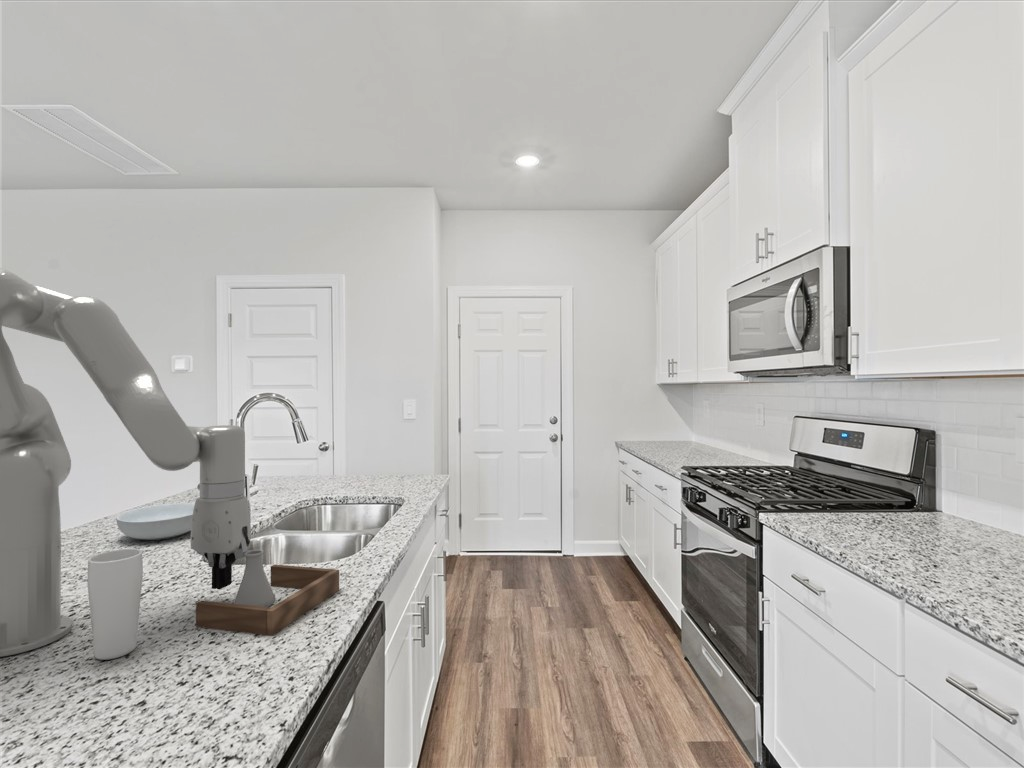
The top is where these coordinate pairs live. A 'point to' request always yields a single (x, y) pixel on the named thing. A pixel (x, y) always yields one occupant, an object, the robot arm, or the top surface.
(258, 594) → the flask
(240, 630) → the box
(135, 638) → the white tall hollow cylinder
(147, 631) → the top surface
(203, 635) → the top surface
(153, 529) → the serving bowl
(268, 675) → the top surface
